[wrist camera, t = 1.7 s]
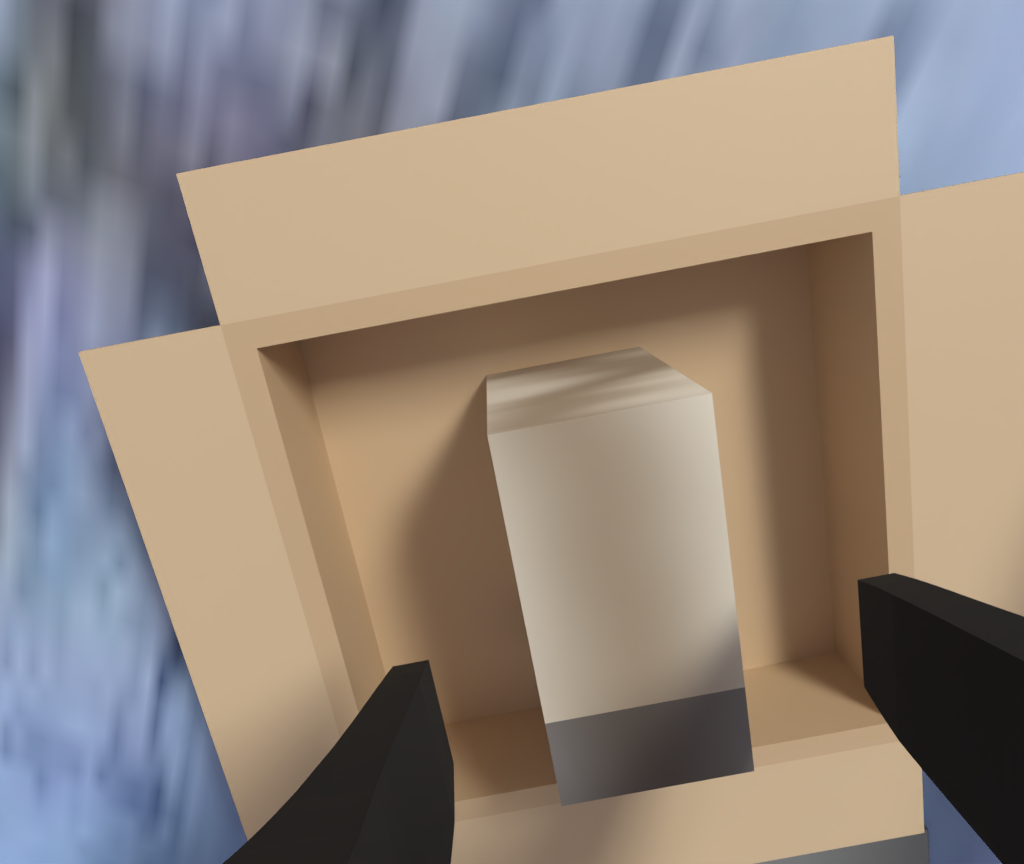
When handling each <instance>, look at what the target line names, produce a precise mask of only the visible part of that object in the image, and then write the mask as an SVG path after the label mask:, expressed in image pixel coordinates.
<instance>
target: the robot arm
mask: <svg viewBox="0 0 1024 864" xmlns="http://www.w3.org/2000/svg"><path fill="white" fill-rule="evenodd" d="M857 581H858V597H859V613H860V629H861V645H862V662H863V678H864V687H865V689H866V691H867V692H868V694H869V695H870V697H871V699H872V700H873V702H874V703H875V705H876V707H877V708H878V710H879V711H880V713H881V715H882V716H883V718H884V719H885V721H886V722H887V724H888V725H889V727H890V728H891V730H892V731H893V733H894V734H895V736H896V737H897V739H898V740H899V742H900V743H901V744H902V745H903V746H904V748H905V749H906V750H907V751H908V753H909V754H910V755H911V756H912V757H913V759H914V760H915V761H916V762H917V763H918V765H919V766H920V767H921V768H922V769H923V771H924V772H925V773H926V774H927V775H928V777H929V778H930V779H931V780H932V781H933V783H934V784H935V785H936V786H937V787H938V788H939V790H940V791H941V792H942V793H943V794H944V795H945V797H946V798H947V799H948V800H949V801H950V803H951V804H952V805H953V806H954V807H955V808H956V810H957V811H958V812H959V813H960V814H961V815H962V817H963V818H964V819H965V820H966V821H967V822H968V824H969V825H970V826H971V827H972V828H973V830H974V831H975V832H976V833H977V834H978V835H979V837H980V838H981V839H982V840H983V841H984V842H985V844H986V845H987V846H988V847H989V848H990V850H991V851H992V852H993V853H994V854H995V855H996V857H997V858H998V859H999V860H1000V861H1001V862H1002V864H1024V616H1021V615H1018V614H1015V613H1012V612H1009V611H1006V610H1004V609H1001V608H998V607H995V606H992V605H989V604H987V603H984V602H981V601H978V600H975V599H973V598H970V597H967V596H964V595H961V594H958V593H956V592H953V591H950V590H947V589H944V588H942V587H939V586H936V585H933V584H930V583H927V582H924V581H921V580H918V579H914V578H911V577H908V576H904V575H900V574H896V573H891V574H886V575H881V576H875V577H870V578H864V579H859V580H857ZM454 825H455V799H454V762H453V758H452V754H451V750H450V746H449V741H448V737H447V733H446V729H445V725H444V721H443V717H442V713H441V709H440V705H439V700H438V696H437V692H436V688H435V684H434V680H433V676H432V672H431V668H430V664H429V660H425V661H419V662H414V663H409V664H403V665H398V666H393V667H392V668H391V669H390V671H389V672H388V673H387V675H386V676H385V677H384V679H383V680H382V681H381V683H380V684H379V686H378V687H377V688H376V690H375V691H374V692H373V694H372V695H371V697H370V698H369V699H368V701H367V702H366V704H365V705H364V706H363V708H362V709H361V711H360V712H359V713H358V715H357V716H356V717H355V719H354V720H353V722H352V723H351V724H350V725H349V727H348V728H347V729H346V731H345V732H344V733H343V735H342V736H341V737H340V739H339V740H338V741H337V743H336V744H335V745H334V747H333V748H332V749H331V750H330V752H329V753H328V754H327V755H326V756H325V757H324V759H323V760H322V761H321V762H320V763H319V765H318V766H317V767H316V768H315V769H314V771H313V772H312V773H311V774H310V775H309V777H308V778H307V779H306V780H305V781H304V783H303V784H302V785H301V786H300V787H299V789H298V790H297V791H296V792H295V793H294V794H293V795H292V796H291V797H290V799H289V800H288V801H287V802H286V803H285V804H284V805H283V806H282V807H281V808H280V809H279V810H278V811H277V812H276V813H275V815H274V816H273V817H272V818H271V819H270V820H269V821H268V822H267V823H266V824H265V825H264V826H263V827H262V828H261V829H260V830H259V831H258V832H256V833H255V834H254V835H253V836H252V837H251V838H250V839H249V840H248V841H247V842H246V843H245V844H244V845H243V846H242V847H241V848H240V849H239V850H238V851H237V852H236V853H234V854H233V855H232V856H231V857H230V858H229V859H228V860H226V861H225V862H224V863H223V864H451V856H452V846H453V836H454Z"/></svg>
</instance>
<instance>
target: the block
mask: <svg viewBox="0 0 1024 864" xmlns="http://www.w3.org/2000/svg"><path fill="white" fill-rule="evenodd" d="M486 377H487V436H488V441H489V446H490V451H491V456H492V461H493V466H494V471H495V476H496V481H497V486H498V491H499V496H500V501H501V506H502V511H503V516H504V521H505V526H506V531H507V536H508V541H509V546H510V551H511V556H512V561H513V566H514V571H515V576H516V581H517V586H518V591H519V596H520V601H521V606H522V611H523V616H524V621H525V626H526V631H527V636H528V641H529V646H530V651H531V656H532V661H533V666H534V671H535V676H536V681H537V686H538V691H539V696H540V701H541V706H542V711H543V716H544V721H545V726H546V731H547V736H548V741H549V746H550V751H551V756H552V761H553V766H554V771H555V776H556V781H557V786H558V791H559V796H560V801H561V806H566V805H571V804H577V803H582V802H588V801H593V800H599V799H604V798H610V797H615V796H621V795H626V794H632V793H637V792H643V791H648V790H654V789H659V788H665V787H670V786H676V785H681V784H687V783H692V782H698V781H703V780H709V779H714V778H720V777H725V776H730V775H736V774H741V773H747V772H752V771H754V763H753V754H752V745H751V736H750V727H749V718H748V709H747V700H746V691H745V682H744V674H743V665H742V656H741V647H740V638H739V629H738V620H737V611H736V602H735V593H734V584H733V576H732V567H731V558H730V549H729V540H728V531H727V522H726V513H725V504H724V495H723V486H722V478H721V469H720V460H719V451H718V442H717V433H716V424H715V415H714V406H713V397H712V393H711V392H709V391H708V390H706V389H705V388H703V387H702V386H700V385H699V384H697V383H695V382H694V381H692V380H691V379H689V378H688V377H686V376H685V375H683V374H681V373H680V372H678V371H677V370H675V369H674V368H672V367H670V366H669V365H667V364H666V363H664V362H663V361H661V360H660V359H658V358H656V357H655V356H653V355H652V354H650V353H649V352H647V351H646V350H644V349H642V348H641V347H634V348H628V349H623V350H618V351H612V352H607V353H602V354H597V355H591V356H586V357H581V358H575V359H570V360H565V361H559V362H554V363H549V364H544V365H538V366H533V367H528V368H522V369H517V370H512V371H506V372H501V373H496V374H491V375H486Z"/></svg>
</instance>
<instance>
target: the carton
mask: <svg viewBox="0 0 1024 864" xmlns="http://www.w3.org/2000/svg"><path fill="white" fill-rule="evenodd" d="M177 178H178V181H179V185H180V188H181V192H182V195H183V199H184V202H185V205H186V209H187V212H188V216H189V219H190V223H191V226H192V229H193V233H194V236H195V240H196V243H197V247H198V250H199V254H200V257H201V260H202V264H203V267H204V271H205V274H206V278H207V281H208V285H209V288H210V291H211V295H212V298H213V302H214V305H215V309H216V312H217V316H218V319H219V322H220V325H216V326H211V327H206V328H201V329H195V330H190V331H185V332H179V333H174V334H169V335H164V336H158V337H153V338H148V339H143V340H137V341H132V342H127V343H122V344H116V345H111V346H106V347H101V348H95V349H90V350H85V351H81V352H79V355H80V358H81V361H82V364H83V367H84V370H85V372H86V375H87V378H88V381H89V384H90V387H91V390H92V393H93V396H94V398H95V401H96V404H97V407H98V410H99V413H100V416H101V419H102V422H103V424H104V427H105V430H106V433H107V436H108V439H109V442H110V445H111V448H112V450H113V453H114V456H115V459H116V462H117V465H118V468H119V471H120V474H121V476H122V479H123V482H124V485H125V488H126V491H127V494H128V497H129V500H130V502H131V505H132V508H133V511H134V514H135V517H136V520H137V523H138V526H139V528H140V531H141V534H142V537H143V540H144V543H145V546H146V549H147V552H148V554H149V557H150V560H151V563H152V566H153V569H154V572H155V575H156V578H157V580H158V583H159V586H160V589H161V592H162V595H163V598H164V601H165V604H166V606H167V609H168V612H169V615H170V618H171V621H172V624H173V627H174V630H175V632H176V635H177V638H178V641H179V644H180V647H181V650H182V653H183V656H184V659H185V661H186V664H187V667H188V670H189V673H190V676H191V679H192V682H193V685H194V687H195V690H196V693H197V696H198V699H199V702H200V705H201V708H202V711H203V713H204V716H205V719H206V722H207V725H208V728H209V731H210V734H211V737H212V739H213V742H214V745H215V748H216V751H217V754H218V757H219V760H220V763H221V765H222V768H223V771H224V774H225V777H226V780H227V783H228V786H229V789H230V791H231V794H232V797H233V800H234V803H235V806H236V809H237V812H238V815H239V817H240V820H241V823H242V826H243V829H244V832H245V835H246V838H247V841H248V840H249V839H250V838H251V837H252V836H253V835H254V834H255V833H256V832H258V831H259V830H260V829H261V828H262V827H263V826H264V825H265V824H266V823H267V822H268V821H269V820H270V819H271V818H272V817H273V816H274V815H275V813H276V812H277V811H278V810H279V809H280V808H281V807H282V806H283V805H284V804H285V803H286V802H287V801H288V800H289V799H290V797H291V796H292V795H293V794H294V793H295V792H296V791H297V790H298V789H299V787H300V786H301V785H302V784H303V783H304V781H305V780H306V779H307V778H308V777H309V775H310V774H311V773H312V772H313V771H314V769H315V768H316V767H317V766H318V765H319V763H320V762H321V761H322V760H323V759H324V757H325V756H326V755H327V754H328V753H329V752H330V750H331V749H332V748H333V747H334V745H335V744H336V743H337V741H338V740H339V739H340V737H341V736H342V735H343V733H344V732H345V731H346V729H347V728H348V727H349V725H350V724H351V723H352V722H353V720H354V719H355V717H356V716H357V715H358V713H359V712H360V711H361V709H362V708H363V706H364V705H365V704H366V702H367V701H368V699H369V698H370V697H371V695H372V694H373V692H374V691H375V690H376V688H377V687H378V686H379V684H380V683H381V681H382V680H383V679H384V677H385V676H386V675H387V673H388V672H389V671H390V669H391V668H392V667H393V666H398V665H403V664H409V663H414V662H419V661H425V660H429V664H430V668H431V672H432V676H433V680H434V684H435V688H436V692H437V696H438V700H439V705H440V709H441V713H442V717H443V721H444V725H445V729H446V733H447V737H448V741H449V746H450V750H451V754H452V758H453V762H454V799H455V825H454V836H453V846H452V856H451V864H755V863H760V862H766V861H771V860H777V859H782V858H788V857H793V856H799V855H804V854H810V853H816V852H821V851H827V850H832V849H838V848H843V847H849V846H854V845H860V844H865V843H871V842H876V841H882V840H888V839H893V838H899V837H904V836H910V835H915V834H921V833H924V810H923V784H922V768H921V767H920V766H919V765H918V763H917V762H916V761H915V760H914V759H913V757H912V756H911V755H910V754H909V753H908V751H907V750H906V749H905V748H904V746H903V745H902V744H901V743H900V742H899V740H898V739H897V737H896V736H895V734H894V733H893V731H892V730H891V728H890V727H889V725H888V724H887V722H886V721H885V719H884V718H883V716H882V715H881V713H880V711H879V710H878V708H877V707H876V705H875V703H874V702H873V700H872V699H871V697H870V695H869V694H868V692H867V691H866V689H865V687H864V678H863V662H862V645H861V629H860V613H859V597H858V581H857V580H859V579H864V578H870V577H875V576H881V575H886V574H891V573H896V574H900V575H904V576H908V577H911V578H914V579H918V580H921V581H924V582H927V583H930V584H933V585H936V586H939V587H942V588H944V589H947V590H950V591H953V592H956V593H958V594H961V595H964V596H967V597H970V598H973V599H975V600H978V601H981V602H984V603H987V604H989V605H992V606H995V607H998V608H1001V609H1004V610H1006V611H1009V612H1012V613H1015V614H1018V615H1021V616H1024V172H1021V173H1016V174H1010V175H1005V176H1000V177H995V178H989V179H984V180H979V181H973V182H968V183H963V184H958V185H952V186H947V187H942V188H937V189H931V190H926V191H921V192H916V193H910V194H905V195H900V186H899V161H898V135H897V109H896V83H895V57H894V36H889V37H884V38H878V39H873V40H868V41H863V42H858V43H852V44H847V45H842V46H837V47H832V48H827V49H821V50H816V51H811V52H806V53H801V54H795V55H790V56H785V57H780V58H775V59H769V60H764V61H759V62H754V63H749V64H743V65H738V66H733V67H728V68H723V69H717V70H712V71H707V72H702V73H697V74H691V75H686V76H681V77H676V78H671V79H666V80H660V81H655V82H650V83H645V84H640V85H634V86H629V87H624V88H619V89H614V90H608V91H603V92H598V93H593V94H588V95H582V96H577V97H572V98H567V99H562V100H556V101H551V102H546V103H541V104H536V105H531V106H525V107H520V108H515V109H510V110H505V111H499V112H494V113H489V114H484V115H479V116H473V117H468V118H463V119H458V120H453V121H447V122H442V123H437V124H432V125H427V126H421V127H416V128H411V129H406V130H401V131H395V132H390V133H385V134H380V135H375V136H370V137H364V138H359V139H354V140H349V141H344V142H338V143H333V144H328V145H323V146H318V147H312V148H307V149H302V150H297V151H292V152H286V153H281V154H276V155H271V156H266V157H260V158H255V159H250V160H245V161H240V162H235V163H229V164H224V165H219V166H214V167H209V168H203V169H198V170H193V171H188V172H183V173H177ZM634 347H641V348H642V349H644V350H646V351H647V352H649V353H650V354H652V355H653V356H655V357H656V358H658V359H660V360H661V361H663V362H664V363H666V364H667V365H669V366H670V367H672V368H674V369H675V370H677V371H678V372H680V373H681V374H683V375H685V376H686V377H688V378H689V379H691V380H692V381H694V382H695V383H697V384H699V385H700V386H702V387H703V388H705V389H706V390H708V391H709V392H711V393H712V397H713V406H714V415H715V424H716V433H717V442H718V451H719V460H720V469H721V478H722V486H723V495H724V504H725V513H726V522H727V531H728V540H729V549H730V558H731V567H732V576H733V584H734V593H735V602H736V611H737V620H738V629H739V638H740V647H741V656H742V665H743V674H744V682H745V691H746V700H747V709H748V718H749V727H750V736H751V745H752V754H753V763H754V771H752V772H747V773H741V774H736V775H730V776H725V777H720V778H714V779H709V780H703V781H698V782H692V783H687V784H681V785H676V786H670V787H665V788H659V789H654V790H648V791H643V792H637V793H632V794H626V795H621V796H615V797H610V798H604V799H599V800H593V801H588V802H582V803H577V804H571V805H566V806H561V801H560V796H559V791H558V786H557V781H556V776H555V771H554V766H553V761H552V756H551V751H550V746H549V741H548V736H547V731H546V726H545V721H544V716H543V711H542V706H541V701H540V696H539V691H538V686H537V681H536V676H535V671H534V666H533V661H532V656H531V651H530V646H529V641H528V636H527V631H526V626H525V621H524V616H523V611H522V606H521V601H520V596H519V591H518V586H517V581H516V576H515V571H514V566H513V561H512V556H511V551H510V546H509V541H508V536H507V531H506V526H505V521H504V516H503V511H502V506H501V501H500V496H499V491H498V486H497V481H496V476H495V471H494V466H493V461H492V456H491V451H490V446H489V441H488V436H487V377H486V375H491V374H496V373H501V372H506V371H512V370H517V369H522V368H528V367H533V366H538V365H544V364H549V363H554V362H559V361H565V360H570V359H575V358H581V357H586V356H591V355H597V354H602V353H607V352H612V351H618V350H623V349H628V348H634Z"/></svg>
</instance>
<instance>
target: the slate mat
mask: <svg viewBox="0 0 1024 864" xmlns="http://www.w3.org/2000/svg"><path fill="white" fill-rule="evenodd" d="M755 864H929V845H928V829H927V828H926V827H925V825H924V833H921V834H915V835H910V836H904V837H899V838H893V839H888V840H882V841H876V842H871V843H865V844H860V845H854V846H849V847H843V848H838V849H832V850H827V851H821V852H816V853H810V854H804V855H799V856H793V857H788V858H782V859H777V860H771V861H766V862H760V863H755Z"/></svg>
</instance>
